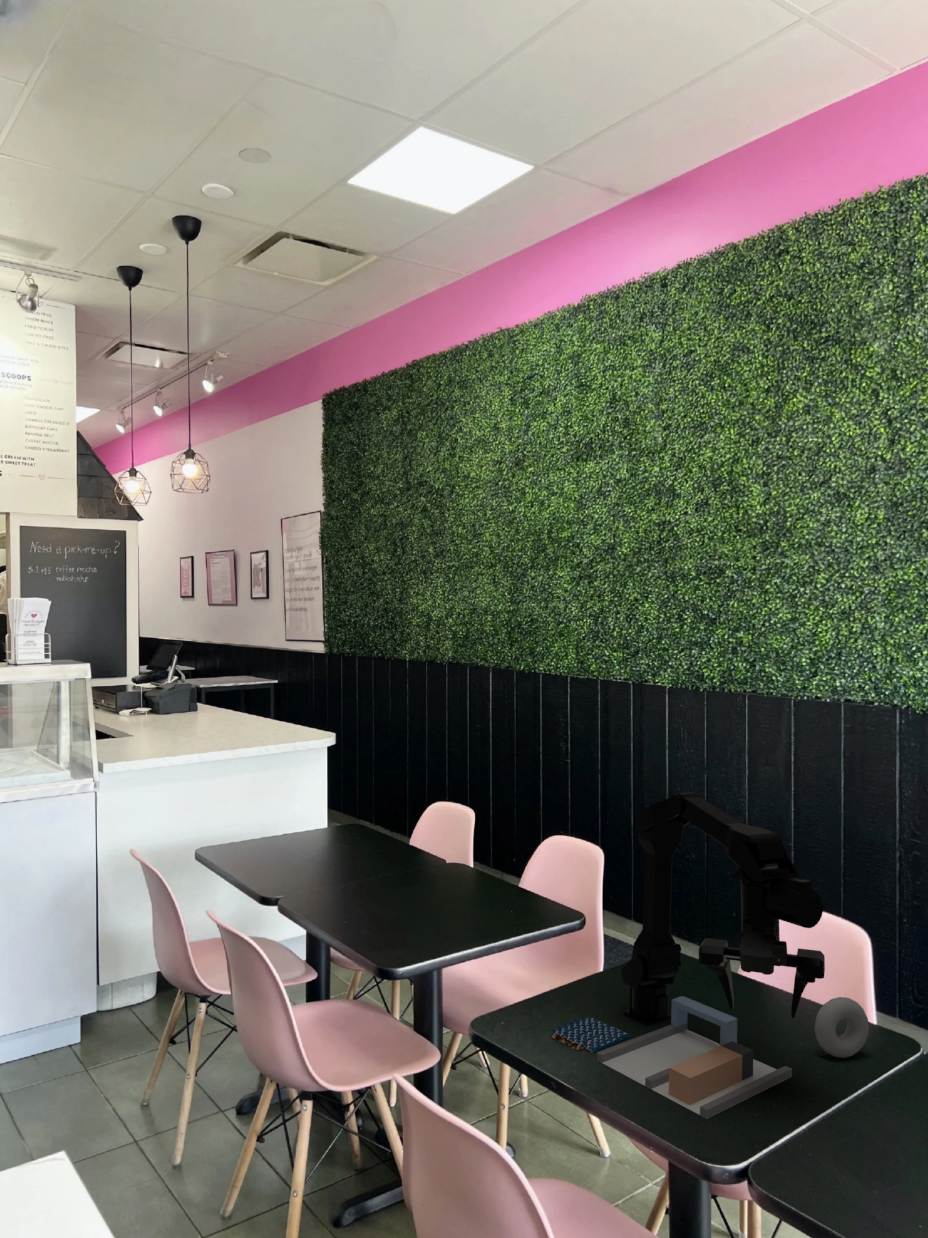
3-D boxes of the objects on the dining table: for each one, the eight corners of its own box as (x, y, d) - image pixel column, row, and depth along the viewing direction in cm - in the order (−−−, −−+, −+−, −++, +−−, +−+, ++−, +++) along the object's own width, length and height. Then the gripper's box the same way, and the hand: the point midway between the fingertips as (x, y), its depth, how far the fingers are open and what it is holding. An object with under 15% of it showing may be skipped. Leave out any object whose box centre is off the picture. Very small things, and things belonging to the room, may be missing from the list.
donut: (858, 1049, 156) (859, 991, 156) (872, 1058, 152) (873, 999, 153) (809, 1055, 153) (810, 996, 153) (822, 1064, 150) (823, 1004, 150)
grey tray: (596, 1065, 147) (597, 1025, 148) (681, 1031, 161) (682, 996, 161) (706, 1124, 130) (707, 1079, 130) (791, 1081, 144) (792, 1041, 144)
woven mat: (594, 1063, 149) (595, 1051, 149) (548, 1040, 157) (548, 1029, 157) (634, 1045, 156) (634, 1034, 156) (587, 1024, 164) (588, 1013, 164)
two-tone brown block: (668, 1094, 137) (669, 1067, 137) (731, 1065, 147) (732, 1041, 147) (689, 1105, 134) (690, 1078, 134) (753, 1075, 144) (753, 1050, 144)
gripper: (692, 918, 139) (694, 1022, 138) (821, 932, 131) (824, 1041, 130) (703, 902, 149) (704, 998, 148) (823, 914, 142) (826, 1015, 140)
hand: (762, 1013), depth 141 cm, fingers open, 9 cm apart
